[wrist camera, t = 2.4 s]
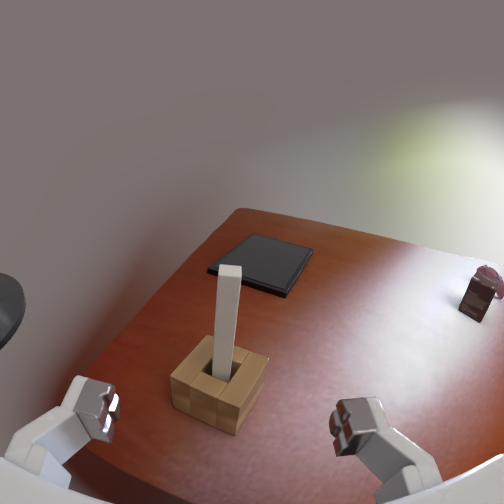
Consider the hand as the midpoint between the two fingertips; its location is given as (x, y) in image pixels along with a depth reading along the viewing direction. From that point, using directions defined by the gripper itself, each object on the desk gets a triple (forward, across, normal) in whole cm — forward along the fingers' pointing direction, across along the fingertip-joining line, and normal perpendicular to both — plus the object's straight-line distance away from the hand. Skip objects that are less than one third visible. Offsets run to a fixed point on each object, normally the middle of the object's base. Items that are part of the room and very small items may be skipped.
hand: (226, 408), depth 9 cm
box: (+29, -49, +16) cm, 59 cm away
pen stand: (+12, 0, +16) cm, 20 cm away
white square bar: (+12, 0, +16) cm, 20 cm away
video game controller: (+39, -64, +16) cm, 77 cm away
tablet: (+44, -7, +16) cm, 47 cm away
